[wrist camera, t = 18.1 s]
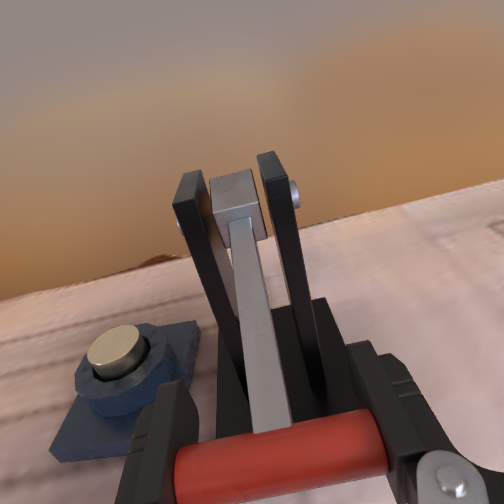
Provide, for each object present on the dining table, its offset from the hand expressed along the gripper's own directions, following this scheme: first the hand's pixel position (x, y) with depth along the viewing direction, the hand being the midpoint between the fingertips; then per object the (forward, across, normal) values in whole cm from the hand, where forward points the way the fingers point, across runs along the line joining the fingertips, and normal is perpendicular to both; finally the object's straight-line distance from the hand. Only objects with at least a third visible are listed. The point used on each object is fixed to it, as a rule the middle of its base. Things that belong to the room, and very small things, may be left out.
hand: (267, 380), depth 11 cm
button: (+10, +11, +7) cm, 16 cm away
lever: (+3, 0, 0) cm, 3 cm away
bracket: (+8, 0, +10) cm, 13 cm away
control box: (+10, +11, +10) cm, 18 cm away
